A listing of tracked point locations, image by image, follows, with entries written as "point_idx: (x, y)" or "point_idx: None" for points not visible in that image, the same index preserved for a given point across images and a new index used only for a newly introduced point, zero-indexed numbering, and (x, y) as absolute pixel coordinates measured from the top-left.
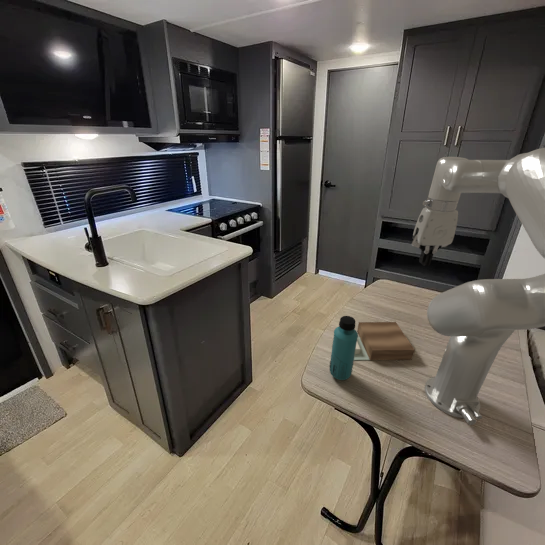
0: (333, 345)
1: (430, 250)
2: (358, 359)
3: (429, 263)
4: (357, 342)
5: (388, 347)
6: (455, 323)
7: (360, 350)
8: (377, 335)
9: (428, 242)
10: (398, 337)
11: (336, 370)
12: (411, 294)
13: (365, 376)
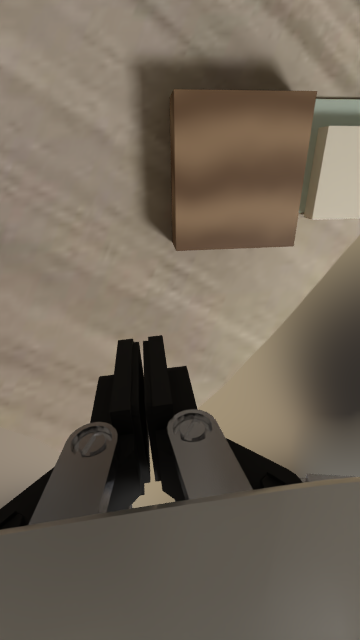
0: None
1: (128, 467)
2: (333, 99)
3: (124, 349)
4: (322, 160)
5: (257, 106)
6: None
7: (309, 144)
8: (265, 175)
9: (354, 548)
10: (201, 163)
11: None
12: (53, 417)
13: (343, 17)
